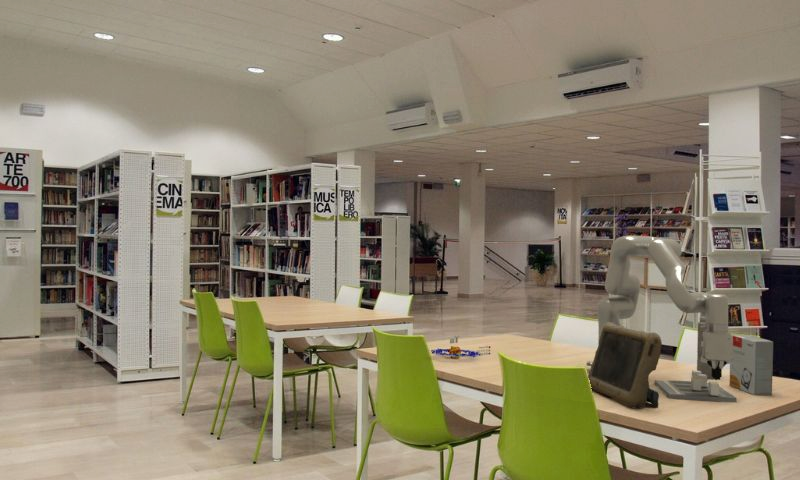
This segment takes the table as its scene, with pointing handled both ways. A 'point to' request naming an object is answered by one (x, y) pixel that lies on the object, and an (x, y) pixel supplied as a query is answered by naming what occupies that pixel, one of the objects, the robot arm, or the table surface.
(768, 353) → the hard drive box
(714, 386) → the breaker
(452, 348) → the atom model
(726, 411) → the table surface
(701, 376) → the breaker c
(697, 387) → the block
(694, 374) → the breaker
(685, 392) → the panel
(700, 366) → the thermos bottle
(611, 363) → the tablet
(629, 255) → the robot arm
